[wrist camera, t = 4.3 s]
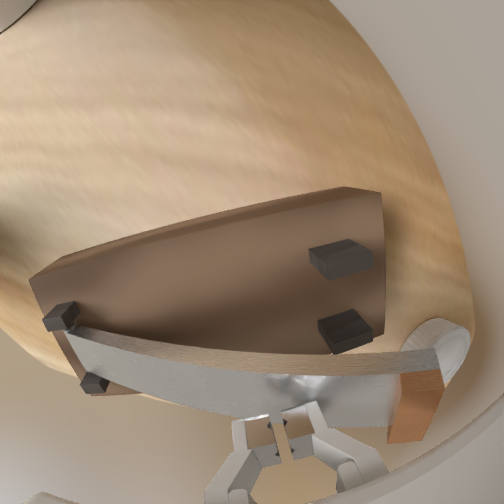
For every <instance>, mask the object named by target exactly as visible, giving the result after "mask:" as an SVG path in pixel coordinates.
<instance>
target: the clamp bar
mask: <svg viewBox="0 0 504 504" xmlns="http://www.w3.org/2000/svg"><path fill="white" fill-rule="evenodd" d="M63 331H64V333H65V335H66V337H67V339H68V341H69V343H70V345H71V346H72V348H73V350H74V352H75V353H76V355H77V357H78V359H79V360H80V362H81V364H82V365H83V367H84V369H85V370H86V372H87V373H93V374H96V375H98V376H100V377H103V378H105V379H107V380H110V381H112V382H115V383H117V384H120V385H122V386H125V387H128V388H130V389H133V390H136V391H139V392H142V393H145V394H148V395H151V396H154V397H157V398H160V399H163V400H167V401H170V402H173V403H177V404H181V405H184V406H188V407H192V408H196V409H201V410H204V411H209V412H213V413H218V414H223V415H228V416H233V417H238V418H244V419H245V418H250V417H256V416H261V415H266V414H269V417H270V421H271V423H280V424H283V420H282V416H281V412H280V411H281V410H284V409H288V408H291V407H295V406H298V405H302V404H306V403H309V402H312V401H317V403H318V405H319V407H320V409H321V412H322V414H323V416H324V419H325V421H326V423H327V425H328V427H380V426H388V432H387V444H393V443H404V442H412V441H421V440H422V439H423V437H424V435H425V433H426V431H427V429H428V427H429V425H430V423H431V421H432V418H433V416H434V414H435V412H436V409H437V407H438V405H439V402H440V399H441V397H442V395H443V392H444V389H445V387H444V382H443V378H442V373H441V369H440V365H439V361H438V357H437V354H436V350H435V348H428V349H419V350H410V351H398V352H385V353H368V354H339V355H302V354H272V353H255V352H241V351H229V350H219V349H209V348H200V347H192V346H185V345H177V344H170V343H164V342H158V341H152V340H146V339H140V338H135V337H130V336H124V335H120V334H115V333H110V332H105V331H101V330H97V329H92V328H88V327H84V326H80V325H76V324H75V321H73V322H72V323H71V324H70V326H69V327H68V328H67V329H63Z"/></svg>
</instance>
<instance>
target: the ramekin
mask: <svg viewBox="0 0 504 504" xmlns="http://www.w3.org/2000/svg"><path fill="white" fill-rule="evenodd" d="M469 346H470V333H469V331H468V330H467V329H466V328H465V327H464V326H462V325H457V324H455V323H453V322H450V321H448V320H446V319H443V318H434V319H430V320H427V321H425V322H424V323H422V324H421V325H419V326H418V327H417V328H416V329H415V330H414V331H413V332H412V333H411V334H410V335H409V337H408V338H407V339H406V341H405V342H404V344H403V345H402V347H401V350H400V351H410V350H419V349H428V348H435V350H436V354H437V357H438V361H439V365H440V369H441V373H442V378H443V382H444V384H446V383H447V382H448V381H449V380H450V379H451V378H452V376H453V375H454V374H455V373H456V372H457V370H458V369H459V367H460V366H461V364H462V363H463V361H464V359H465V357H466V355H467V353H468V350H469Z"/></svg>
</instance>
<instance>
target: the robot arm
mask: <svg viewBox="0 0 504 504" xmlns="http://www.w3.org/2000/svg"><path fill="white" fill-rule="evenodd" d="M36 1H37V0H0V32H2V31H3V30H4V29H6V28H7V27H9V26H10V25H11V24H12V23H13V22H15V21H16V20H17V19H18V18H19V17H20V16H21V15H22V14H24V13H25V12H26V11H27V10H28V9H29V8H30V7H31V6H32V5H33V4H34V3H35V2H36ZM280 412H281V416H282V420H283V424H284V427H285V431H286V435H287V438H288V442H289V445H290V449H291V452H292V456H293V459H294V460H296V459H301V458H304V457H308V456H312V455H314V456H315V457H316V458H318V459H319V460H321V461H322V462H324V463H325V464H326V465H328V466H330V467H331V468H332V469H334V470H335V471H337V482H336V490H337V493H338V494H335V495H332V496H329V497H326V498H323V499H320V500H316V501H312V502H309V503H306V504H504V393H503V394H502V395H501V396H500V397H499V398H498V399H497V400H496V401H495V402H494V403H492V404H491V405H490V406H489V407H488V408H487V409H486V410H484V411H483V412H482V413H481V414H480V415H479V416H477V417H476V418H475V419H474V420H472V421H471V422H470V423H468V424H467V425H466V426H465V427H463V428H462V429H461V430H459V431H458V432H456V433H455V434H454V435H452V436H451V437H449V438H448V439H446V440H445V441H443V442H442V443H440V444H439V445H437V446H436V447H434V448H433V449H431V450H429V451H428V452H426V453H424V454H423V455H421V456H419V457H418V458H416V459H414V460H413V461H411V462H409V463H407V464H405V465H404V466H401V467H399V468H397V469H395V470H394V471H391V472H389V471H388V470H387V468H386V466H385V464H384V462H383V460H382V459H381V457H380V455H379V453H378V451H377V450H376V449H374V448H372V447H370V446H368V445H366V444H364V443H361V442H359V441H357V440H355V439H353V438H351V437H349V436H348V435H345V434H344V433H342V432H340V431H338V430H336V429H334V428H328V425H327V423H326V421H325V419H324V416H323V414H322V412H321V409H320V407H319V405H318V403H317V401H312V402H309V403H306V404H302V405H298V406H295V407H291V408H288V409H284V410H281V411H280ZM232 434H233V443H234V452H231V453H230V454H229V456H228V457H227V459H226V461H225V462H224V463H223V465H222V467H221V468H220V469H219V471H218V472H217V474H216V475H215V477H214V478H213V480H212V481H211V482H210V484H209V485H208V487H207V488H206V489H205V491H204V504H257V503H256V502H255V501H254V499H253V498H252V497H251V496H250V493H251V491H252V488H253V486H254V484H255V482H256V480H257V478H258V476H259V474H260V472H261V470H262V468H263V467H268V466H272V465H276V464H280V463H281V459H280V454H279V450H278V447H277V442H276V438H275V434H274V431H273V427H272V424H271V421H270V417H269V414H266V415H261V416H256V417H250V418H245V419H239V420H234V421H232ZM23 504H79V503H75V502H72V501H69V500H66V499H62V498H59V497H56V496H53V495H51V494H48V493H44V492H40V493H38V494H36V495H34V496H33V497H31V498H30V499H28V500H27V501H25V502H24V503H23Z"/></svg>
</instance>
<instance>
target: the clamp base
mask: <svg viewBox="0 0 504 504" xmlns="http://www.w3.org/2000/svg"><path fill="white" fill-rule="evenodd" d="M29 282H30V285H31V287H32V290H33V292H34V295H35V297H36V299H37V301H38V304H39V306H40V308H41V310H42V313H43V315H44V318H43V319H42V321H43V323H44V325H45V327H46V329H47V331H48V332H50V331H52V333H53V335H54V337H55V338H56V340H57V342H58V344H59V346H60V348H61V349H62V351H63V353H64V355H65V356H66V358H67V360H68V361H69V363H70V365H71V366H72V368H73V369H74V371H75V373H76V374H77V376H78V377H79V379H80V380H81V384H80V386H81V387H82V389H83V390H84V391H85V393H86V394H90V395H91V396H108V395H124V394H125V395H126V394H139V393H142V392H139V391H136V390H133V389H130V388H128V387H125V386H122V385H120V384H117V383H115V382H112V381H110V380H107V379H105V378H103V377H100V376H98V375H96V374H93V373H87V372H86V370H85V369H84V367H83V365H82V364H81V362H80V360H79V359H78V357H77V355H76V353H75V352H74V350H73V348H72V346H71V345H70V343H69V341H68V339H67V337H66V335H65V333H64V331H63V329H67V328H68V327H69V326H70V324H71V323H72V322H73V321H75V324H76V325H80V326H84V327H88V328H92V329H97V330H101V331H105V332H110V333H115V334H120V335H124V336H130V337H135V338H140V339H146V340H152V341H158V342H164V343H170V344H177V345H185V346H192V347H200V348H209V349H219V350H229V351H241V352H255V353H272V354H302V355H328V354H331V353H333V355H337V354H340V353H343V352H346V351H348V350H351V349H354V348H357V347H359V346H362V345H365V344H367V343H370V342H372V341H373V338H375V337H377V336H380V335H382V334H384V325H385V300H386V263H385V238H384V222H383V210H382V200H381V193H380V192H374V191H369V190H363V189H357V188H350V187H339V188H333V189H328V190H322V191H317V192H312V193H307V194H302V195H297V196H292V197H287V198H282V199H277V200H273V201H268V202H263V203H259V204H254V205H250V206H245V207H241V208H237V209H232V210H228V211H224V212H219V213H215V214H211V215H207V216H203V217H199V218H195V219H191V220H187V221H183V222H179V223H175V224H172V225H168V226H164V227H160V228H157V229H153V230H149V231H146V232H142V233H139V234H135V235H131V236H128V237H124V238H121V239H118V240H114V241H111V242H107V243H104V244H101V245H98V246H94V247H91V248H88V249H85V250H81V251H78V252H75V253H72V254H69V255H66V256H63V257H61V258H59V259H58V260H56V261H55V262H53V263H52V264H50V265H49V266H47V267H46V268H44V269H43V270H42V271H40V272H39V273H37V274H36V275H34V276H33V277H32V278H30V279H29Z"/></svg>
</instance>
